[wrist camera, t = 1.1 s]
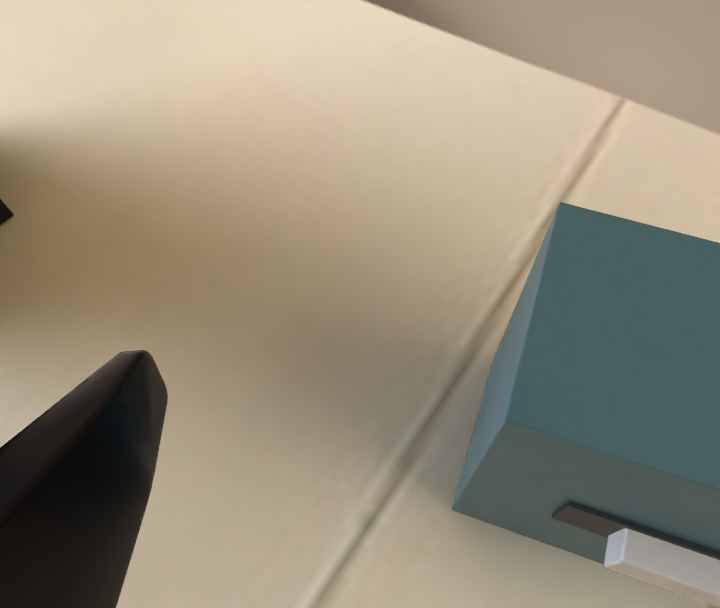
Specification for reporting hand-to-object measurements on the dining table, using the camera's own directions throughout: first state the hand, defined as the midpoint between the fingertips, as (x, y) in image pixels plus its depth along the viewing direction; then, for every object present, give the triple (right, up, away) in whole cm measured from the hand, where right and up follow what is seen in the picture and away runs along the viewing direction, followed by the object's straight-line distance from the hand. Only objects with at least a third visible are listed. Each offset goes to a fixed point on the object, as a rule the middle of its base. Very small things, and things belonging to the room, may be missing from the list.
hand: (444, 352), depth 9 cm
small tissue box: (+9, -6, +13) cm, 16 cm away
